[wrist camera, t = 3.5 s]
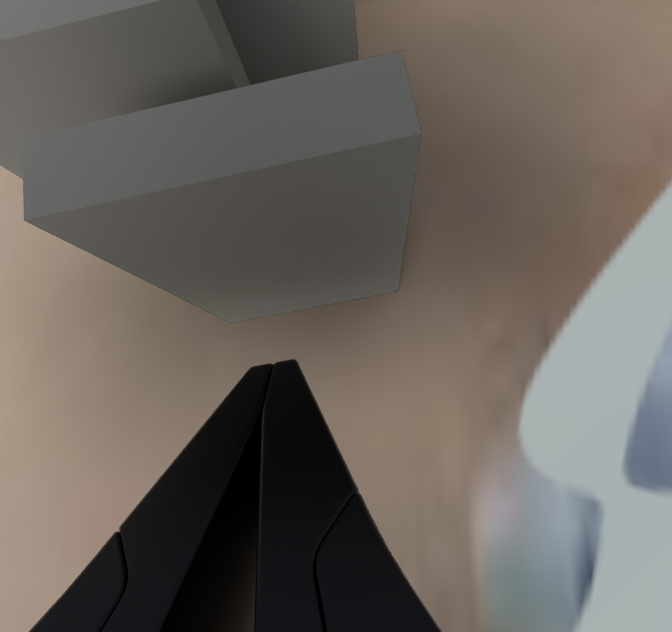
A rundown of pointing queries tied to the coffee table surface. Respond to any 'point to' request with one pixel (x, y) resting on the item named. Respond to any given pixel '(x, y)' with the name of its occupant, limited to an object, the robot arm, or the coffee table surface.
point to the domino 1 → (290, 35)
